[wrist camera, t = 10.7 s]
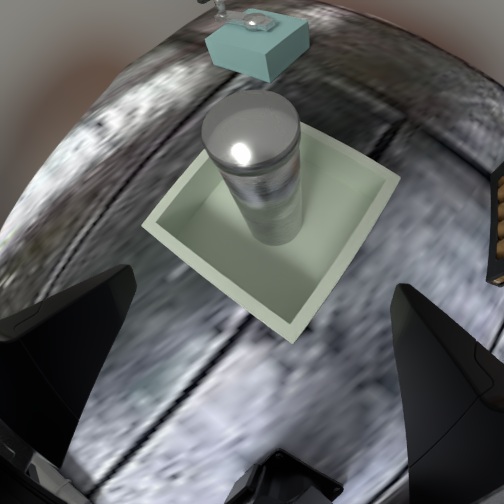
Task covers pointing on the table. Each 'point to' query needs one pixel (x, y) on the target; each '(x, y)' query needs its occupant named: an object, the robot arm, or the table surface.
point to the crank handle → (242, 18)
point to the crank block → (260, 46)
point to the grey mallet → (57, 482)
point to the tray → (284, 256)
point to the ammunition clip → (496, 229)
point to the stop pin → (259, 160)
